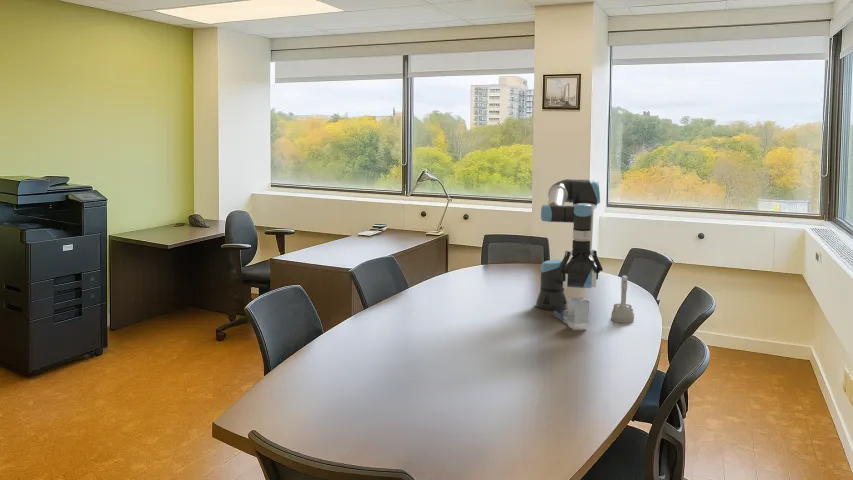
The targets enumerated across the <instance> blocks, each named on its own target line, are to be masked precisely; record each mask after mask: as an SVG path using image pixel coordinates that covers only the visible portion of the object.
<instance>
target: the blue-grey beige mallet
mask: <svg viewBox="0 0 853 480" xmlns="http://www.w3.org/2000/svg"><path fill="white" fill-rule="evenodd" d="M553 317H555V318H556V319H558V320H559V321H560V322H563V323H565V324H566V325H567V327H568V328H569V329H571V330H573V331H583V330H587V329H588V323H581V324H574V323H572V322H570V321H569V320H568V311H567V312H566V311H564V309H563V310H553Z"/></svg>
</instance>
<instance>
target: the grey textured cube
mask: <svg viewBox="0 0 853 480" xmlns="http://www.w3.org/2000/svg"><path fill="white" fill-rule="evenodd" d="M567 309H568V310H567V313H568V320H569V321H570V322H572V323H574V324H581V323H587V324H589V316H590V315H589V313H590V301H589V300H588V299H586V298H584V297H572V298H571V297H569V298H568V302H567Z"/></svg>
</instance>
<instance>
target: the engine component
mask: <svg viewBox="0 0 853 480" xmlns="http://www.w3.org/2000/svg"><path fill="white" fill-rule="evenodd" d="M620 283H621V285H620V289H621V290H620V291H621V294H620V295H621V296H620V303H614V304H613V309H612V311H611V314H610V315H611V317H610V319H611V320H612V321H614V322H617V323H625V324H626V323H633V322H634V321H635V313H634V311H633V310H634V309H633V308H632V305H631V304H630V303H629V304H628V303H627V292H628V276H627V275H622V276H621V281H620Z"/></svg>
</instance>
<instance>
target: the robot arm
mask: <svg viewBox="0 0 853 480" xmlns="http://www.w3.org/2000/svg"><path fill="white" fill-rule="evenodd" d="M599 184H600V183H599V182H598V180H596V179H571V178H570V179H569V178H568V179H566V178H565V179H562V180H559V181H558V182H555V183H554V184H552V185H551V187H550V188H549V189H548V193H547V196H548V201H547V204H544V205H542V206H541V210H540V219H541V222H547V223H573V227H572V229H573V230H572V239H573V240H572V244H571V245H572V249H571V251H568V250H566V251H565V252H564V257H563V258H562V259H560V258H559V259H550V260H545V261H543V262H542V263H541V264H540V265H541V267H540V285H539V286H540V287H539V288H540V289H539V293H538V296H537V298H536V301H535V306H536V308H538V309H541V310H546V311H554V310H563V311H564V310H566V309H568V301H567V299H566V294H565V290H567V289H568V288H578V289H592V288H594V289H595V288H597V280H598V279H599V273H601V272H603V270H604V269H603V266H602V264H601V262H600V260H599V256H598V254H597V253H598V252H597V250H594V249H593V229H594V213H595V212H594V211H595V209H596V208H597V207H598V204H600V203H601V194H600V193H601V192H600V185H599ZM565 203H569V204H570V203H572V205H565ZM571 256H572V257H571ZM570 257H571V258H570Z"/></svg>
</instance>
